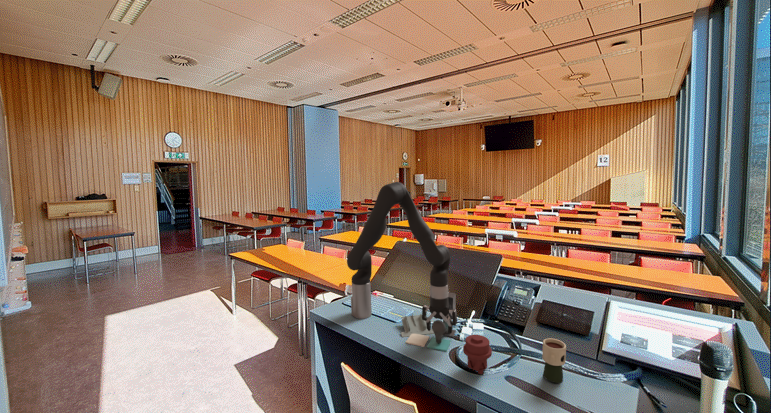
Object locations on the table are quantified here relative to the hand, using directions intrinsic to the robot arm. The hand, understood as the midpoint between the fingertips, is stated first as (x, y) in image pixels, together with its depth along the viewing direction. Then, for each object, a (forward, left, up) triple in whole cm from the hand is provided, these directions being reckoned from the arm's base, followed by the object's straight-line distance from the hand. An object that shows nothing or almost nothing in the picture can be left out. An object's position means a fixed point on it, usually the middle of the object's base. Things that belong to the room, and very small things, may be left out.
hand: (439, 331), depth 139 cm
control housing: (+1, +10, -6) cm, 11 cm away
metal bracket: (-14, +9, -6) cm, 18 cm away
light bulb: (0, 0, -5) cm, 5 cm away
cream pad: (-9, 0, -6) cm, 11 cm away
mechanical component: (+17, -11, -6) cm, 21 cm away
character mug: (+42, -7, -6) cm, 43 cm away
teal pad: (0, 0, -6) cm, 6 cm away
